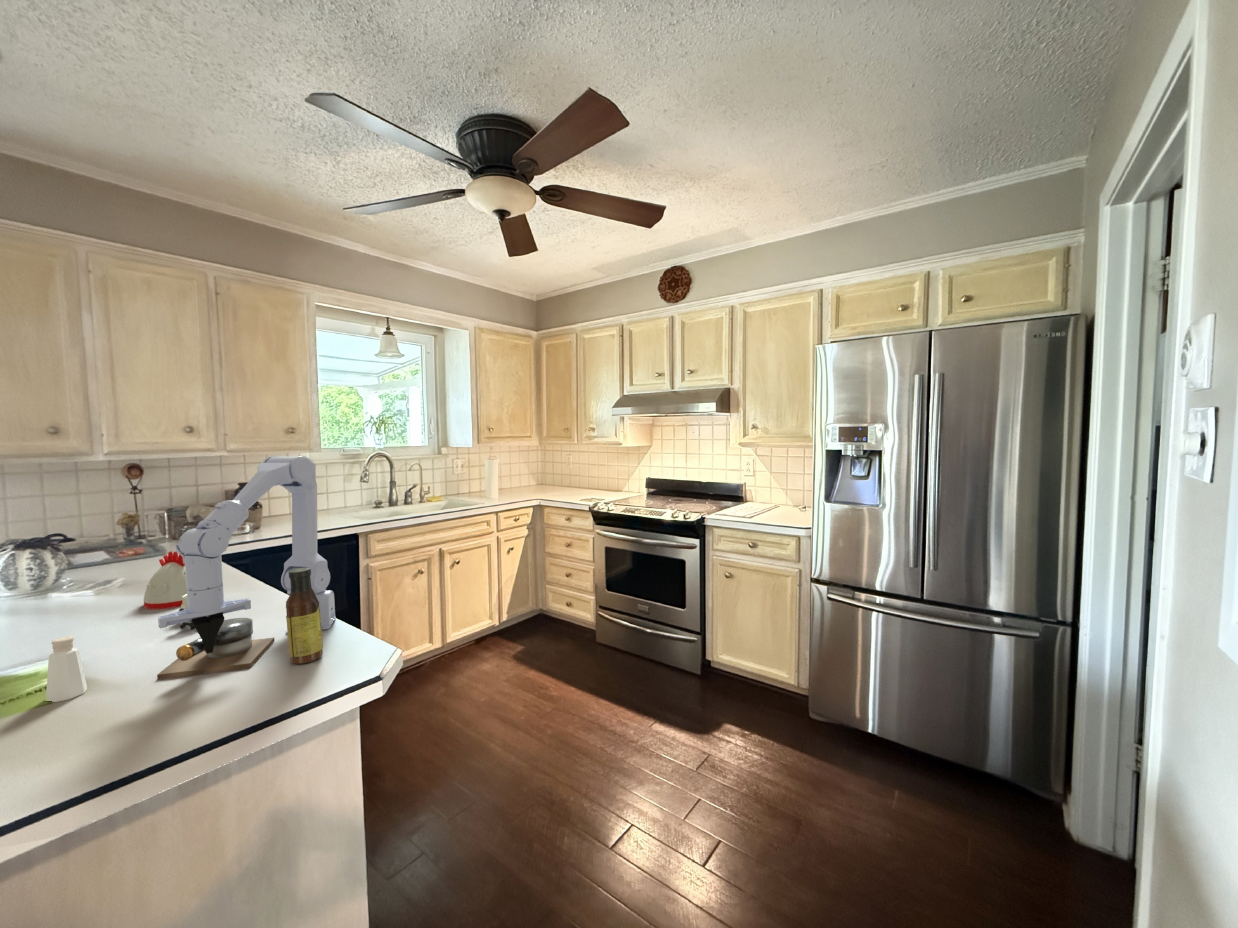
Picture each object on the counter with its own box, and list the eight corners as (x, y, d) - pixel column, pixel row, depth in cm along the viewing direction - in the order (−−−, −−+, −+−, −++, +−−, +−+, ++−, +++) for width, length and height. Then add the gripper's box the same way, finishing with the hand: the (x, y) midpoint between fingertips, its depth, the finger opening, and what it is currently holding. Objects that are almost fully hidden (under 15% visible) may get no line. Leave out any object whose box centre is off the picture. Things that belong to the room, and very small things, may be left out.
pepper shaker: (49, 705, 91) (44, 646, 90) (42, 697, 94) (37, 640, 93) (91, 692, 96) (87, 636, 95) (83, 685, 99) (79, 630, 98)
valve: (175, 620, 133) (175, 633, 125) (173, 595, 133) (174, 607, 124) (207, 614, 138) (209, 626, 129) (205, 590, 137) (208, 601, 129)
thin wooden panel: (274, 641, 119) (273, 626, 118) (250, 667, 105) (249, 650, 105) (193, 650, 114) (192, 634, 114) (157, 679, 101) (156, 661, 100)
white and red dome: (178, 609, 142) (174, 557, 141) (130, 609, 142) (126, 557, 141) (217, 593, 156) (214, 546, 155) (174, 593, 156) (171, 546, 155)
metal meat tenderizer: (225, 629, 116) (224, 617, 116) (262, 629, 116) (261, 617, 116) (162, 660, 100) (161, 646, 100) (205, 660, 100) (204, 646, 100)
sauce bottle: (329, 654, 111) (325, 566, 110) (304, 667, 105) (299, 574, 104) (308, 650, 113) (303, 564, 112) (281, 662, 107) (276, 572, 106)
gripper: (243, 575, 110) (247, 635, 111) (154, 591, 99) (158, 658, 100) (252, 581, 105) (255, 644, 106) (159, 598, 95) (163, 668, 95)
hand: (209, 651), depth 103 cm, fingers closed
